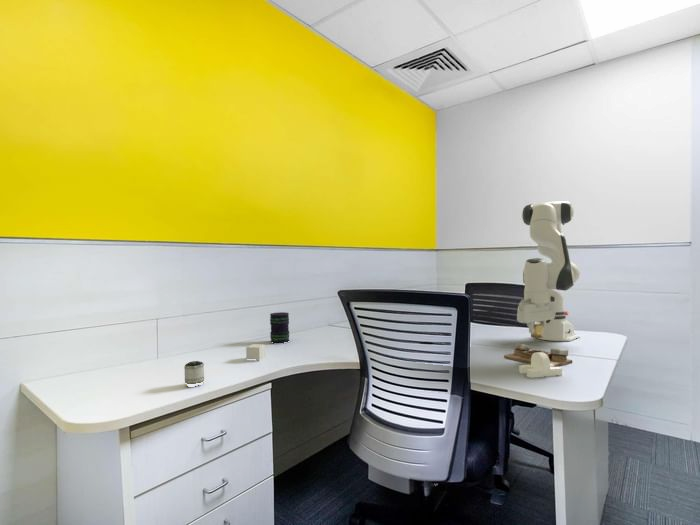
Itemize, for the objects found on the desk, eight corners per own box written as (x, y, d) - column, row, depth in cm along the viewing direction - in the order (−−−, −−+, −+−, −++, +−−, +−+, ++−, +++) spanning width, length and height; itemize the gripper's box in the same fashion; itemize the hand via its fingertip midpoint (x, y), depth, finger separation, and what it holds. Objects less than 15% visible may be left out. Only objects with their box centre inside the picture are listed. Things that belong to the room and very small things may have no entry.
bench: (527, 352, 169) (526, 340, 169) (572, 362, 151) (572, 349, 151) (504, 357, 161) (503, 345, 161) (549, 368, 144) (548, 354, 144)
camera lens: (203, 381, 137) (202, 359, 137) (205, 386, 132) (205, 363, 131) (184, 384, 134) (183, 361, 134) (185, 389, 129) (185, 365, 129)
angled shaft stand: (551, 357, 155) (550, 347, 155) (568, 359, 152) (567, 348, 152) (550, 360, 152) (550, 349, 152) (567, 361, 149) (567, 351, 149)
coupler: (545, 337, 155) (544, 324, 155) (538, 338, 153) (538, 325, 153) (535, 335, 159) (534, 323, 159) (528, 336, 157) (528, 324, 157)
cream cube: (246, 361, 164) (246, 347, 164) (252, 357, 170) (252, 344, 170) (259, 361, 163) (259, 347, 163) (265, 358, 169) (265, 344, 169)
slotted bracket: (549, 370, 143) (549, 349, 143) (563, 375, 136) (563, 353, 136) (518, 372, 140) (518, 351, 140) (530, 378, 133) (530, 356, 133)
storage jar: (290, 339, 207) (289, 312, 207) (288, 343, 198) (288, 314, 198) (271, 340, 207) (271, 312, 207) (269, 344, 197) (268, 315, 197)
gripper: (526, 300, 148) (527, 336, 148) (558, 297, 158) (558, 330, 158) (512, 299, 154) (513, 333, 154) (544, 296, 164) (544, 328, 164)
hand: (536, 332), depth 156 cm, fingers closed on coupler, 4 cm apart
